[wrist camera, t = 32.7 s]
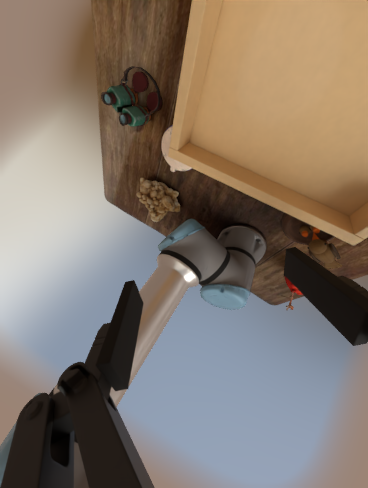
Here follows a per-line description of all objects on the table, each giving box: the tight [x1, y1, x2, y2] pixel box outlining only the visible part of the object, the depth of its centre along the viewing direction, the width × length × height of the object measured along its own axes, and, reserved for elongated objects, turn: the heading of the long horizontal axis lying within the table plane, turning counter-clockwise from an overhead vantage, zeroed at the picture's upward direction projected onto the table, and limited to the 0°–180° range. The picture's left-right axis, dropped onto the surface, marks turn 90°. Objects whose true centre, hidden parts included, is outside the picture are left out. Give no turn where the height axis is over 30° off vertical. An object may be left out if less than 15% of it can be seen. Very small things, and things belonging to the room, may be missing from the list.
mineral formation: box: [137, 178, 181, 222], centre depth 56 cm, size 8×13×15 cm
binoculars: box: [101, 66, 162, 126], centre depth 37 cm, size 9×11×10 cm
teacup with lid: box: [162, 125, 192, 172], centre depth 40 cm, size 12×9×12 cm
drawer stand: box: [168, 0, 368, 245], centre depth 18 cm, size 14×18×30 cm
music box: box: [281, 213, 342, 269], centre depth 34 cm, size 15×11×20 cm
